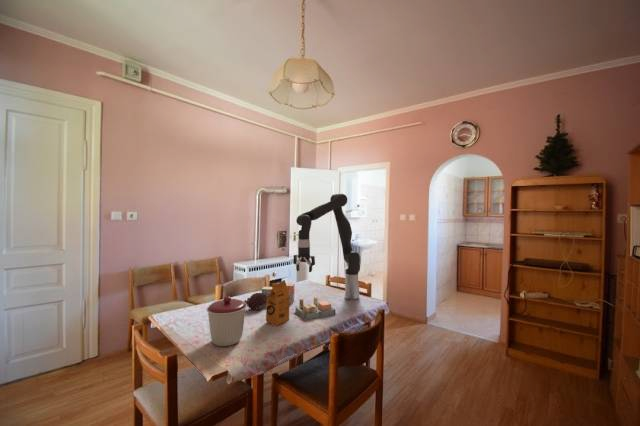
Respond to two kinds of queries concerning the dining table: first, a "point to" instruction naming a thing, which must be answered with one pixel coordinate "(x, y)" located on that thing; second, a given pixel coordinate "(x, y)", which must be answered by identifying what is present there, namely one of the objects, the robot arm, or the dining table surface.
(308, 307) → the birch block
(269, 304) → the coffee package
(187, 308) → the dining table surface
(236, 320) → the canister
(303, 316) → the shelf rack
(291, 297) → the stack of blocks
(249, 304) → the pine cone
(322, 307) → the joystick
